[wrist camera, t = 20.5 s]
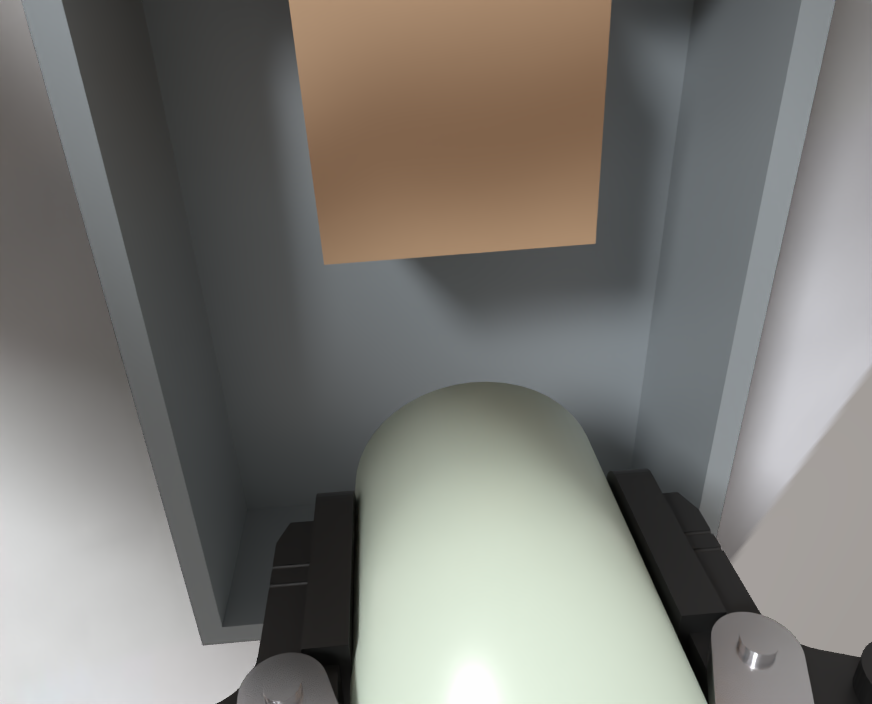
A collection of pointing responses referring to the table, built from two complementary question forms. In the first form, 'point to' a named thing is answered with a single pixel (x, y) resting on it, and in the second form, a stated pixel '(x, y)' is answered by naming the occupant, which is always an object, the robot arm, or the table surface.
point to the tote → (414, 263)
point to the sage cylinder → (501, 564)
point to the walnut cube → (452, 123)
